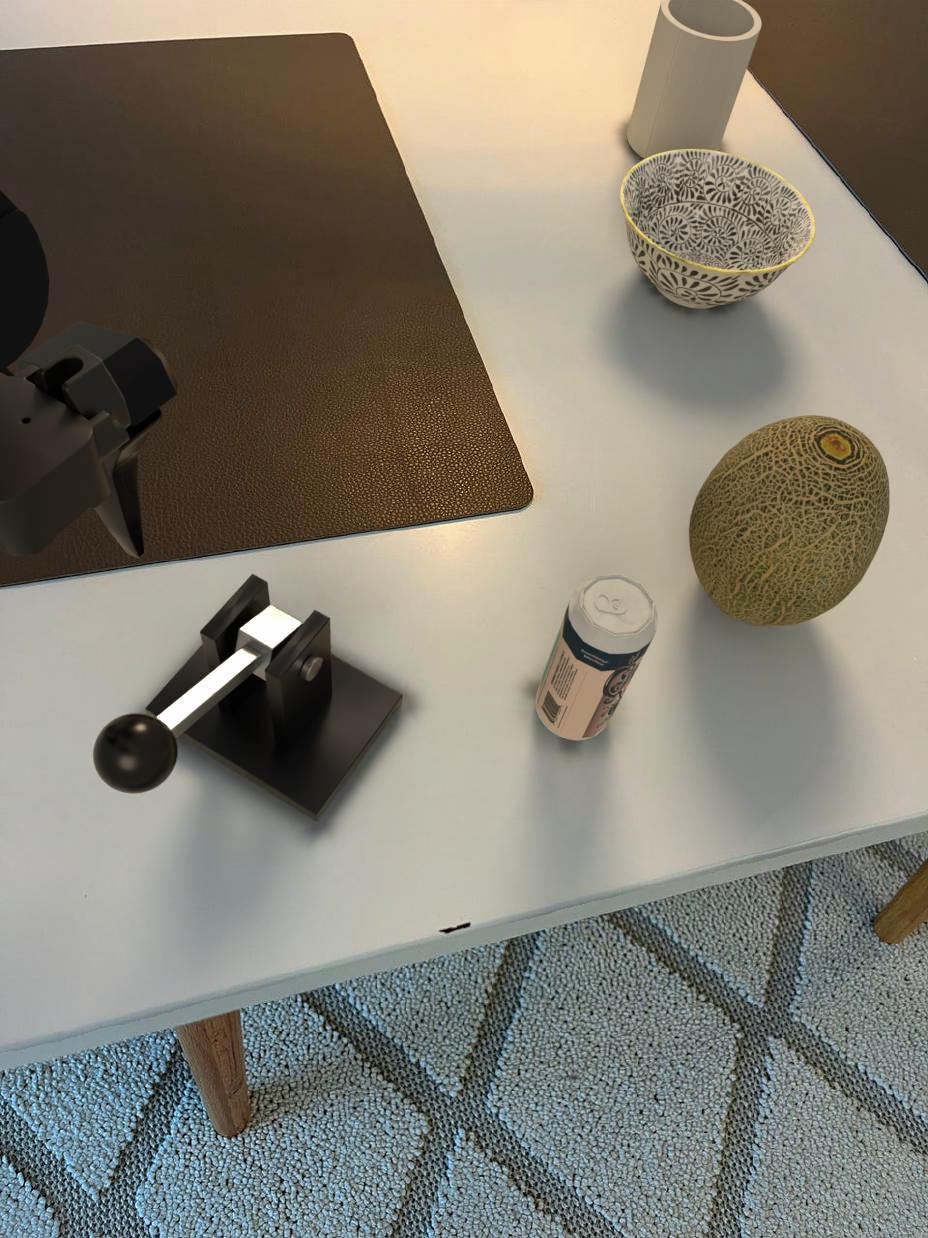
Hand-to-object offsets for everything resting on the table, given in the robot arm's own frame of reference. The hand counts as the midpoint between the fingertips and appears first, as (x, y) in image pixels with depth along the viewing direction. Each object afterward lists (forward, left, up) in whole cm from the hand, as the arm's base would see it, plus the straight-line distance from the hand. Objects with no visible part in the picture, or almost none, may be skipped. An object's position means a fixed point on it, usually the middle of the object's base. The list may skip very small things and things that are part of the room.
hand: (65, 615), depth 45 cm
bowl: (+12, +59, -13) cm, 61 cm away
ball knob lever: (+7, 0, -4) cm, 8 cm away
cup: (+2, +78, -13) cm, 79 cm away
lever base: (+7, +6, -12) cm, 15 cm away
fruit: (+28, +31, -13) cm, 44 cm away
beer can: (+22, +16, -13) cm, 30 cm away
